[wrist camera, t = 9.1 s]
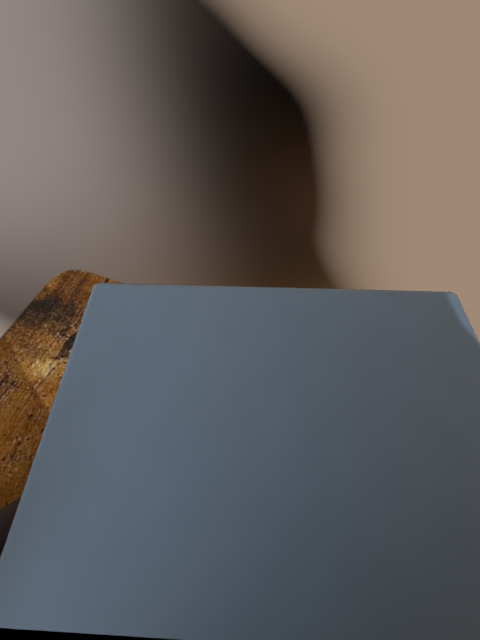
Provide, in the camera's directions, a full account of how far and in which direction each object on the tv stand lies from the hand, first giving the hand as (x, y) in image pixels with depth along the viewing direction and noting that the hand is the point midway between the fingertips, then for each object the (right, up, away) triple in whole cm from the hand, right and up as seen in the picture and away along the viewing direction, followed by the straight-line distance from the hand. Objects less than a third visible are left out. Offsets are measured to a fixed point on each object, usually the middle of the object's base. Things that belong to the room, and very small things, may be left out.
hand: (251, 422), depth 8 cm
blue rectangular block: (0, -3, +3) cm, 4 cm away
